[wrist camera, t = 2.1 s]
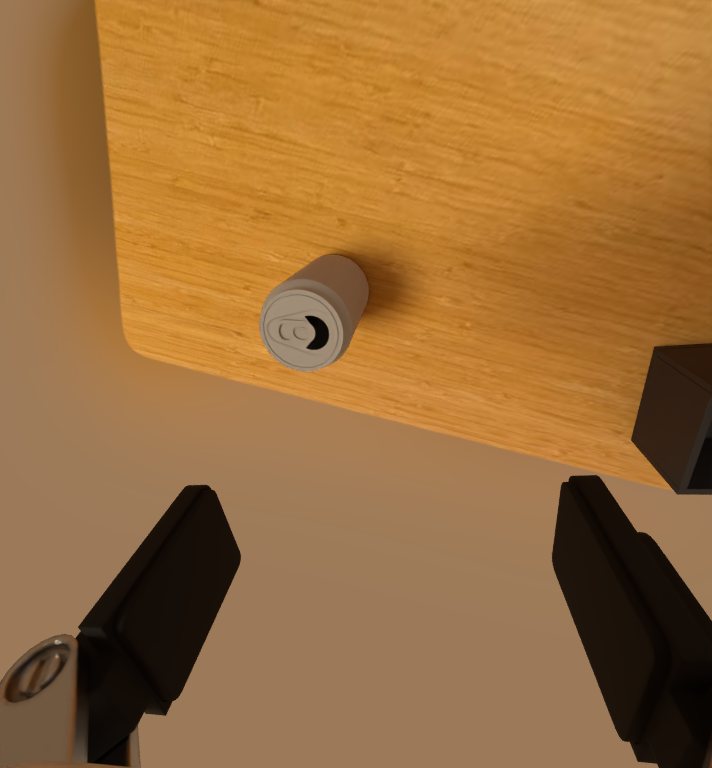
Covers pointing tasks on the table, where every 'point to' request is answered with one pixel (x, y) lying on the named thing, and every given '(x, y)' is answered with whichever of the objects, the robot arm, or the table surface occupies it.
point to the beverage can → (314, 313)
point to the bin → (678, 417)
